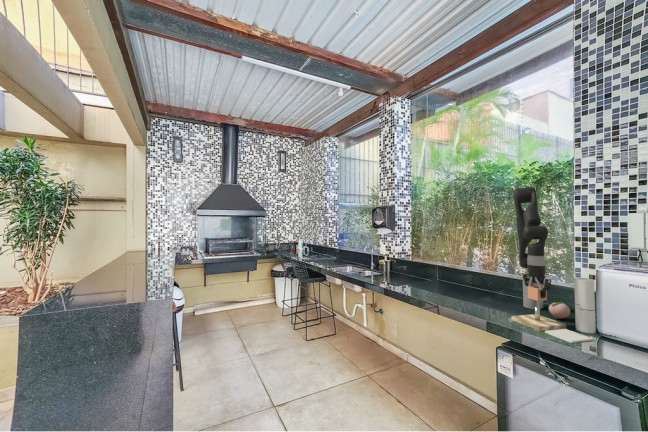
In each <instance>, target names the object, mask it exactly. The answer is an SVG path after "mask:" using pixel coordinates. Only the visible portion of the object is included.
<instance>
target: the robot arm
mask: <svg viewBox="0 0 648 432" xmlns="http://www.w3.org/2000/svg"><path fill="white" fill-rule="evenodd" d="M513 201H514V207H515V215H516V216H515V217H516V230H517V238H518V239H517V240H518V259H519V260H518V261H519V266H520V267H521V268H524V269H527V273H526V272H525V273H523V274H522V295H523V296H522V299H523V301H522V303H523V306H522V307H524V308H526V309H531V310H535V307H539V308H540V310H542V309H544V300H543V301H537V300H533V299H530V298H528V287H529V286H539V287H540V290H541V291H540V293H541V298H545V297H546V291H547V292H548V291H550V290H551V286H552V279H551V278H547V277H546V273H547V271H546V258H545V246H546V241H547V239H548V236H549V229H548V228H547V227H546V226H544V225H541V224H542V223H541V222H542V221H541V218H540V213H539V209H538V208H539V203H538V202H539V201H538V194H537V190H536V188H535V187H534V186H527V187H521V188H520V187H519V188H515V189H513ZM527 203H529V205H528V206H527V207H526V209H524V208H523V206H522V204H527ZM533 240H538V241H537V242H535V243H531V242H532V241H533ZM526 251H527V253H526Z"/></svg>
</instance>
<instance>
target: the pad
mask: <svg viewBox="0 0 648 432" xmlns="http://www.w3.org/2000/svg"><path fill="white" fill-rule="evenodd" d="M544 333H546V334H547V335H551V336H553V337H555V338H558V339H561V340H563V341H566V342H567V343H569V344H570V343H571V344H574V343H585V342H593V341H594V338H593V337H590V336H587V335H584V334H580V333H578V332H576V331H572V330H569V329H568V328H566V329H556V330H546V331H544Z"/></svg>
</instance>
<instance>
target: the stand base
mask: <svg viewBox="0 0 648 432" xmlns="http://www.w3.org/2000/svg"><path fill="white" fill-rule="evenodd" d="M511 320H512V321H513V322H516V323H519V324H521V325H524V326H525V325H526V326H525V327H529V328H530V327H531V328H530V329H533V330H535V329H536V331H538V332H543V331H544V332H545V331H548V330H559V329H567V324H566V323H563V322H560V321H558V320H554V319H552V318H549V317H547V316H542V315H540V321H537V320H535V313H534V314H522V315H513V316H512V315H511Z"/></svg>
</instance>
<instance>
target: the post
mask: <svg viewBox="0 0 648 432" xmlns="http://www.w3.org/2000/svg"><path fill="white" fill-rule="evenodd" d="M534 314H535V320H537V321H540V316H541V309H540V308H539V307H535V309H534Z"/></svg>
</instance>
